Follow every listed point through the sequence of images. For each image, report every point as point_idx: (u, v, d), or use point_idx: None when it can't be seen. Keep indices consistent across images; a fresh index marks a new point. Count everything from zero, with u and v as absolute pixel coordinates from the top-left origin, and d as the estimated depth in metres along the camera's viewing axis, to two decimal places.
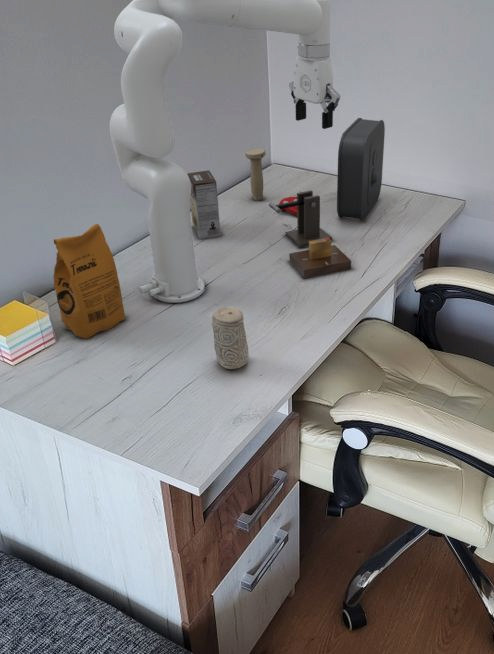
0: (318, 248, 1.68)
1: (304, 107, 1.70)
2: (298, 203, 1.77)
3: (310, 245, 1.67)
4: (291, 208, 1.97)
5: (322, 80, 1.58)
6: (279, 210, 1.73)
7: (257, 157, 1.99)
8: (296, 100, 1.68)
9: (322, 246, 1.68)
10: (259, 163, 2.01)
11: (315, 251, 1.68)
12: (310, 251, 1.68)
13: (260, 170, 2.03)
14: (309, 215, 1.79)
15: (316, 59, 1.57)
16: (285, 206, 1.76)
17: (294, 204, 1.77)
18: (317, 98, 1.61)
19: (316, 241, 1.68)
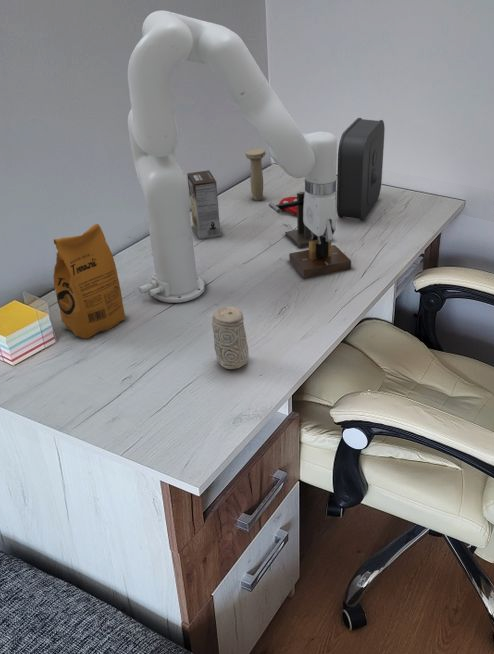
0: None
1: None
2: (298, 203, 1.77)
3: (310, 245, 1.67)
4: (291, 208, 1.97)
5: (322, 216, 1.59)
6: (279, 210, 1.73)
7: (257, 157, 1.99)
8: (312, 234, 1.68)
9: None
10: (259, 163, 2.01)
11: (315, 251, 1.68)
12: (310, 251, 1.68)
13: (260, 170, 2.03)
14: None
15: (317, 196, 1.57)
16: (285, 206, 1.76)
17: (294, 204, 1.77)
18: (317, 231, 1.61)
19: (316, 241, 1.68)
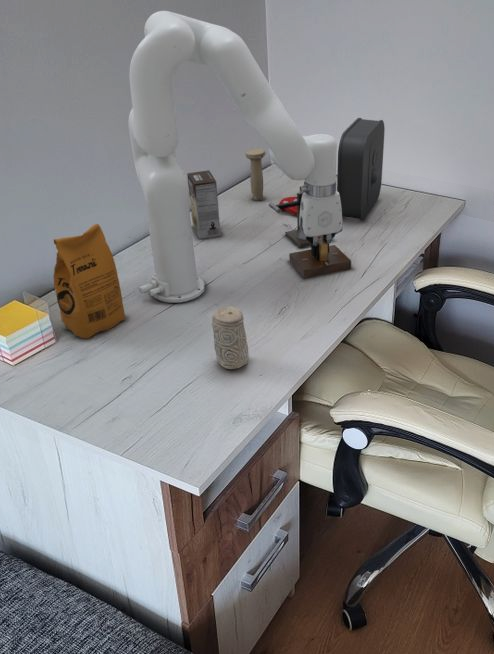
0: None
1: None
2: (298, 203, 1.77)
3: (325, 247, 1.66)
4: (291, 208, 1.97)
5: None
6: (279, 210, 1.73)
7: (257, 157, 1.99)
8: (315, 241, 1.66)
9: None
10: (259, 163, 2.01)
11: None
12: (324, 253, 1.67)
13: (260, 170, 2.03)
14: None
15: (335, 193, 1.60)
16: (285, 206, 1.76)
17: (294, 204, 1.77)
18: (339, 227, 1.65)
19: (321, 242, 1.67)
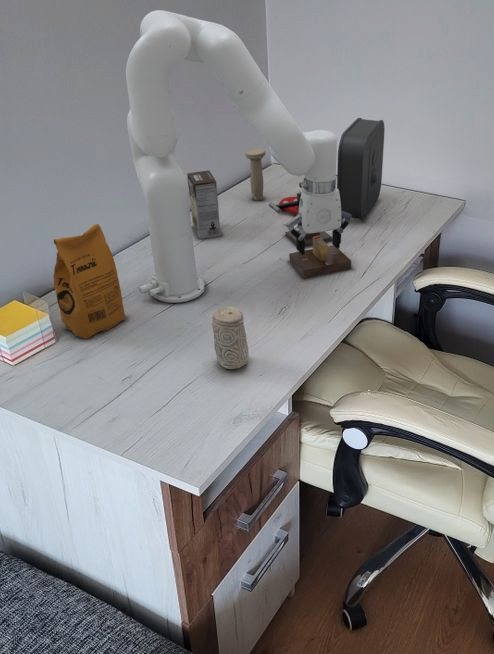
0: None
1: None
2: (298, 203, 1.77)
3: (325, 247, 1.66)
4: (291, 208, 1.97)
5: (340, 206, 1.63)
6: (279, 210, 1.73)
7: (257, 157, 1.99)
8: (302, 236, 1.64)
9: None
10: (259, 163, 2.01)
11: None
12: (324, 253, 1.67)
13: (260, 170, 2.03)
14: None
15: (335, 190, 1.60)
16: (285, 206, 1.76)
17: (294, 204, 1.77)
18: (338, 224, 1.64)
19: (321, 242, 1.67)
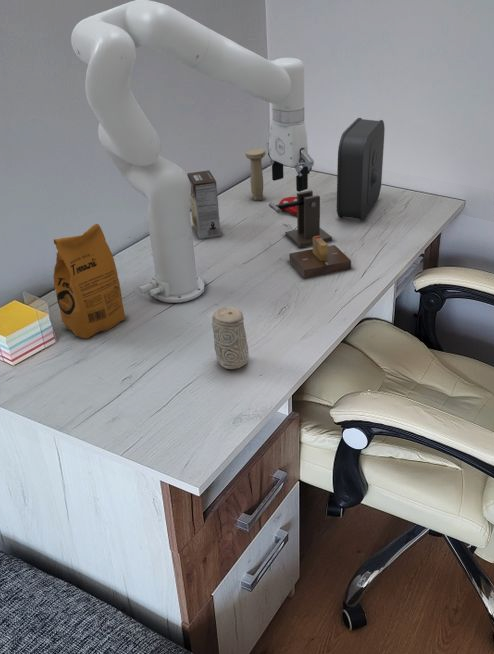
0: None
1: (281, 167, 1.69)
2: (298, 203, 1.77)
3: (325, 247, 1.66)
4: (291, 208, 1.97)
5: (295, 145, 1.57)
6: (279, 210, 1.73)
7: (257, 157, 1.99)
8: (272, 161, 1.67)
9: None
10: (259, 163, 2.01)
11: None
12: (324, 253, 1.67)
13: (260, 170, 2.03)
14: (309, 215, 1.79)
15: (289, 124, 1.55)
16: (285, 206, 1.76)
17: (294, 204, 1.77)
18: (291, 162, 1.59)
19: (321, 242, 1.67)
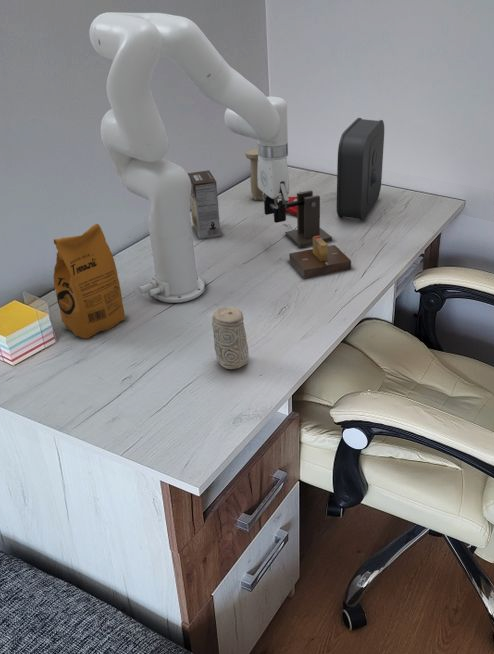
0: None
1: (273, 203, 1.77)
2: (298, 203, 1.77)
3: (325, 247, 1.66)
4: (291, 208, 1.97)
5: (275, 178, 1.65)
6: None
7: (257, 157, 1.99)
8: (264, 195, 1.76)
9: None
10: None
11: None
12: (324, 253, 1.67)
13: None
14: (309, 215, 1.79)
15: (270, 159, 1.64)
16: None
17: (294, 204, 1.77)
18: (271, 194, 1.68)
19: (321, 242, 1.67)
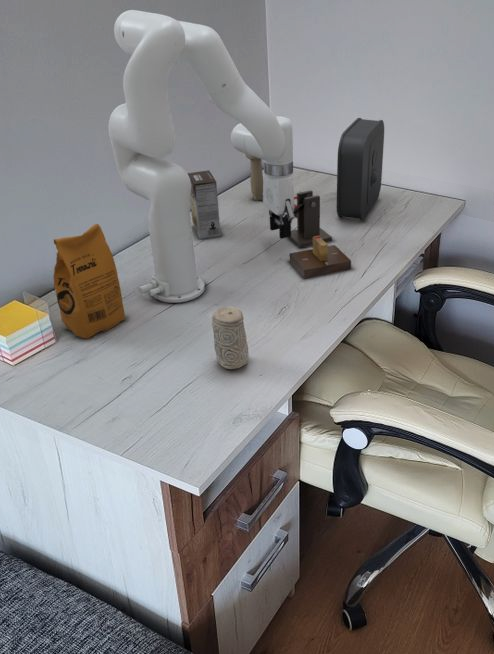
0: None
1: (279, 219, 1.80)
2: (299, 208, 1.78)
3: (325, 247, 1.66)
4: None
5: (281, 196, 1.69)
6: None
7: None
8: (270, 212, 1.79)
9: None
10: (259, 163, 2.01)
11: None
12: (324, 253, 1.67)
13: (260, 170, 2.03)
14: (309, 215, 1.79)
15: (276, 177, 1.67)
16: None
17: (296, 211, 1.78)
18: (277, 211, 1.71)
19: (321, 242, 1.67)
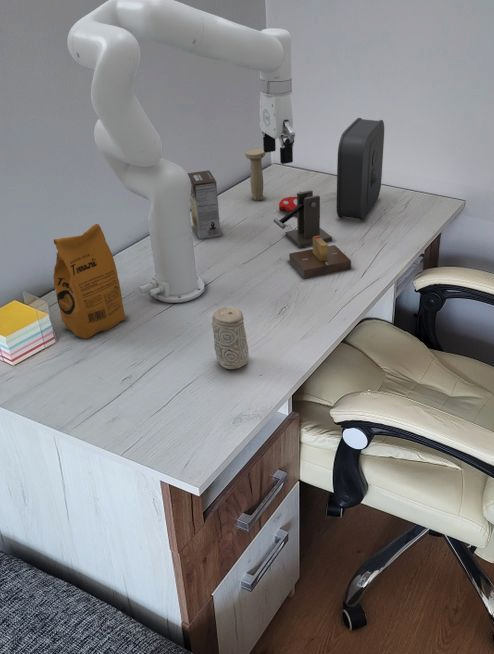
0: None
1: (273, 140, 1.70)
2: (299, 208, 1.78)
3: (325, 247, 1.66)
4: (291, 208, 1.97)
5: (278, 116, 1.57)
6: (283, 226, 1.76)
7: (257, 157, 1.99)
8: (263, 132, 1.68)
9: None
10: (259, 163, 2.01)
11: None
12: (324, 253, 1.67)
13: (260, 170, 2.03)
14: (309, 215, 1.79)
15: (273, 95, 1.56)
16: (288, 217, 1.78)
17: (296, 211, 1.78)
18: (274, 133, 1.60)
19: (321, 242, 1.67)
